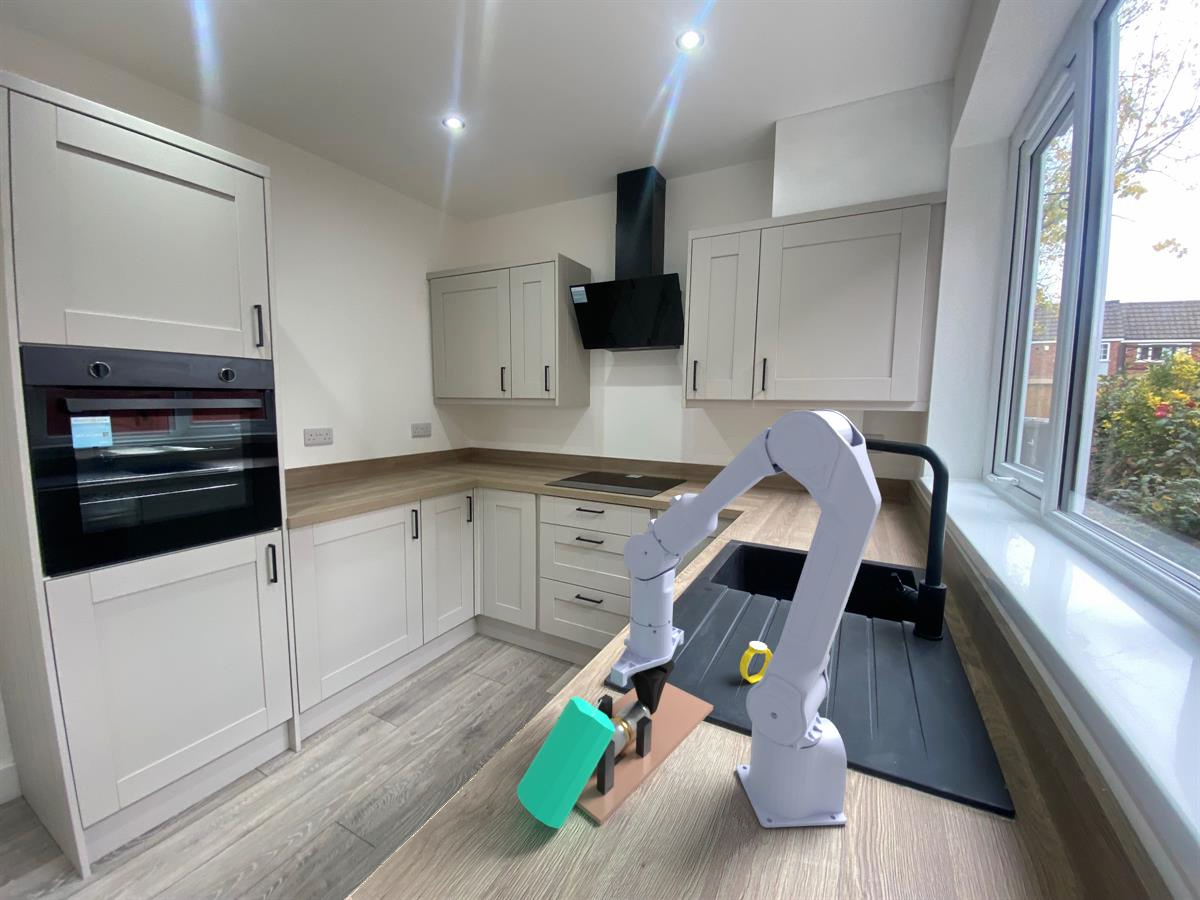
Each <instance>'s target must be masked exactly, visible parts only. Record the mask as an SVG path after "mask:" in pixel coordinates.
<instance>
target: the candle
mask: <svg viewBox="0 0 1200 900" xmlns="http://www.w3.org/2000/svg"><path fill="white" fill-rule="evenodd" d="M601 701H602V699H601V700H600V702H599V704H598V703H597V706H596V707H595V706H594V705H592V704H591V703H589V702H588V701H587V700H585V699H583V698H580V697H578V696H574V697H572V698H570V699H569V701H568V702H567V704H566V705H565V707H564V708H563V710H562V712H561V714H560V715H559V719H558V718H557V721H555V724H554V726H553V727H552V729H550V732H549V734H548V735H547V737H546V738H545V740H544V742H543V744H542V745H541V747H540V749H539V750H538V752H537V754H536V755H535V757H534V758H533V760H532V761H531V763H530V765H529V766H528V768H527V769H526V770H527V771H526V772H525V774H524V775H523V777H522V778H521V780H520V782H519V784H518V785H517V787H516V795H517V797H518V798H519V800H520V802H521V804H522V805H523V807H524V808H525V809H526V810H527V811H528V812H530V814H531V815H532V816H533V817H534V818H535V819H537V820H538V821H540V822H541V823H543V824H544V825H546V826H548V827H551V828H554V829H556V830H557V829H560V828H561V827H563V826H564V824H565V822H567V821H566V820H567V819H568V817H569V816H570V813H571V812H572V811H573V809H574V806H576V805H575V803H576V801H577V799H578V798H579V796H580V794H581V792H582V790H583V789H584V787H585V785H586V783H587V782H588V780H589V778H590V776H591V774H592V773H593V771H594V769H595V767H596V766H597V764H598V762H599V760H600V758H601V757H602V755H603V753H604V751H605V750H606V748H607V746H608V744H609V742H610V741H611V739H612V737H613V735H614V734H615V729H614V726H613V724H612V722H611V721H610V719H609V718H608V716H607V715H606V714H604V713H602V712H601V711H599V710H598V706H599V705H600V703H601Z"/></svg>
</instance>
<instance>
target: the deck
mask: <svg viewBox="0 0 1200 900" xmlns="http://www.w3.org/2000/svg"><path fill="white" fill-rule="evenodd" d="M632 701H638V698H637V694H636V690H635V687H633V688H632V689H631V690H629V691H628V692H627V693H626V694H624V695H623V696H622V697H620V698H619V699H617V700H616V701H615V702H613V708H612V717H613V716H615V715H616V714H617V713H618V712H619V711H621V710H622V709H623V708H624V707H625V706H626V705H628V704H629V703H630V702H632ZM713 710H714V705H713V704H711V703H710V702H707V701H705V700H703V699H701V698H699V697H697V696H695V695H693V694H691V693H689V692H686V691H685V690H682V689H680V688H679V687H677V686H674V685H673V684H670V683H668V682H667V681H666V683H665V686H664V688H663V691H662V694H661V698H660V701H659V704H658V708H657V710H656V712H655V713H654V714H652V715H650V716H651V717H650V719H651V720H652V735H651V751H650V752H649V753H648V754H647V755H646V756H645V757H644V758H643V757H641V756H639V755H638V754H636V738H635V739H634V740H633V741H632V742H631V743H630V744H629V745H628V746H627V747H626V748H625V749H624V750H622V751H621V752H620V753H619V754H618V755H620V756H622V757H623V758H622V759H621V760H620V761H619V762H618V763H617V764H615V765H614V787H613V788H612V789H611V790H610V791H609V792H608V793H607V794H606V795H605V796H604V795H603V794H602V793H600V792H599V791H598V790H597V769H594V771H593V773H592V774H591V776H590V778H589V780H588V782H587V783H586V785H585V787H584V789H583V790H582V792H581V794H580V796H579V798H578V799H577V801H576V803H575V805H574V806H577V808H579V809H580V810H581V811H582V812H583V813H585V814H586V815H587V816H588V817H589V818H591V819H592V820H593V821H595V822H596V823H597V824H598V825H599V826H602V825H603V824H604V823H605V822H606V821H607V820H608V819H609V818H610V817H611V816H612V815H613V814H614V813H615V812H616V811H617V810H618V808H620V806H621V805H622V804H624V802H625V801H626V800H627V799H628V798H629V797H630V796H631V795H632V794H633V793H634V792H635V791H636V790H637V789H638V788H639V786H641V785H642V784H643V783H644V782H645V780H646V779H648V778H649V777H650V775H652V773H653V772H654V771H655V770H656V769H657V768H659V766H660V765H662V763H663V762H664V761H665V760H666V759H667V758H668V757H669V756H670V754H672V752H674V750H676V748H678V747H679V746H680V744H681V743H683V741H684V740H685V739H686V738H687V737H688V736H689V735H690V734H691V733H692V732H693V731H694V730H695V729H696V728H697V726H699V725H700V724H701V722H703V721H704V720H705V719H706V717H707V716H708V715H709V714H710V713H711V712H713Z"/></svg>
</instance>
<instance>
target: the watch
mask: <svg viewBox="0 0 1200 900" xmlns="http://www.w3.org/2000/svg"><path fill="white" fill-rule="evenodd" d="M756 654H765V660H764V663H763V666H762V668H761V670H760V671H759V672H758V673H756V674H753V675H749V674H748V668H749V664H750V662H751V660H752V658H753V657H754V655H756ZM772 656H773V653H772V652H771V650H770V649H769V648H768V645H767V644H766V643H764V642H762V641H758V640H751V641H749V643H748V649H747V650H745V651H744V652H743V654H742V656H741V658H740V664H739V671H740V675H741V676H742V678H743V679H745V680H746V681H748V682H749V683H750V684H756V683H758V682H759V681H760V680H761V678H762V677H763V676H764V673H765V670H766V667H767V665H768V663H769V662H770V660H771V658H772Z"/></svg>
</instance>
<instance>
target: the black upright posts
mask: <svg viewBox="0 0 1200 900" xmlns="http://www.w3.org/2000/svg"><path fill="white" fill-rule="evenodd" d="M601 699H602V701H601V703H600V705H599V706H598V708H597V709H598V710H599V711H601V712H602V713H604V714H606V715H607V716H608V718H609V719H611V718H612V708H613V703H614V701H613V700H614V697H612V696H610V695H609V694H607V693H605V694H604V695H602V696H601V697H599V698H598V700H597V705H598V704H599V702H600V700H601ZM559 717H560V716H559ZM559 717H558V718H557V720H558V719H559ZM651 735H652V720H651V719H649V718H647V717H646V716H643V717H642V718H641V719H640V720H639V721H637V729H636V754H638V755H639V756H641V757H643V758H644V757H645V756H646V755H647V754H648V753H649V752H650V751H651ZM615 759H616V757H615V742H614V741H613V740H611V741H610V742H609V744H608V746H607V748H606V750H605V751H604V753H603V755H602V757H601V758H600V760H599V762H598V764H597V790H598V791H599V792H600V793H602V794H603V795H604V796H605V795H606V794H607V793H608V792H609V791H610V790H611V789H612V788H613V787H614V767H615Z"/></svg>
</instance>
